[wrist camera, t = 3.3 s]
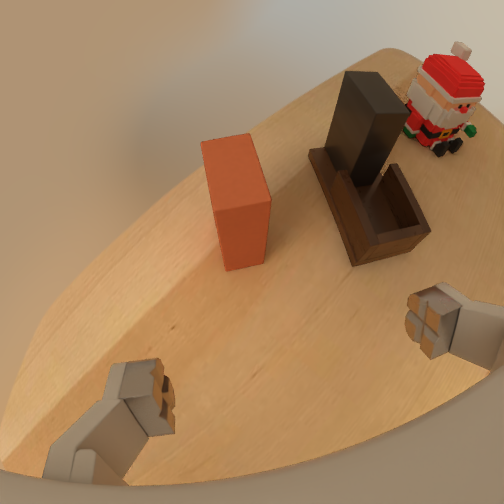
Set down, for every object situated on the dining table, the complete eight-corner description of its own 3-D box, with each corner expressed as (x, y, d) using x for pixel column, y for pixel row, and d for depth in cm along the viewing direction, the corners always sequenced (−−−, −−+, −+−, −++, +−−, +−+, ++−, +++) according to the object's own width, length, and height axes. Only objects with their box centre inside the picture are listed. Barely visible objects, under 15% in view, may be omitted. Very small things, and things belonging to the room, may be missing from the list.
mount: (352, 267, 24) (406, 200, 15) (307, 155, 28) (326, 70, 19) (410, 251, 24) (474, 188, 15) (361, 149, 29) (392, 72, 20)
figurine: (425, 161, 29) (475, 81, 18) (389, 117, 31) (423, 36, 20) (465, 149, 30) (510, 83, 19) (432, 110, 33) (466, 43, 22)
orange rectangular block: (225, 271, 24) (214, 211, 15) (214, 216, 25) (200, 141, 17) (264, 263, 24) (272, 199, 16) (249, 208, 26) (249, 132, 18)
